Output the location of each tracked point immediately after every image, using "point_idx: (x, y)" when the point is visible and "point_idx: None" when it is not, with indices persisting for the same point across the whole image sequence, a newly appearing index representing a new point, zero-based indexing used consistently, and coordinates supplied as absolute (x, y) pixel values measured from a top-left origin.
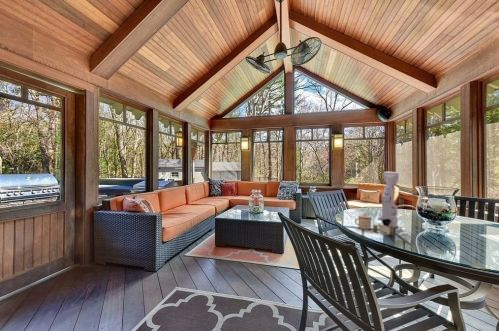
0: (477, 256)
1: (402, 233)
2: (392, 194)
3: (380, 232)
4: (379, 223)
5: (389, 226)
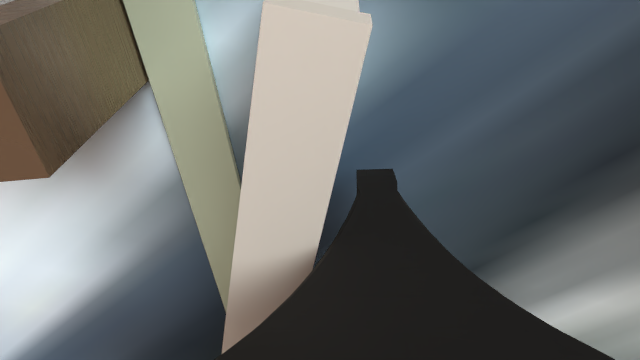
0: None
1: (627, 322)
2: None
3: (177, 162)
4: (329, 31)
5: None
